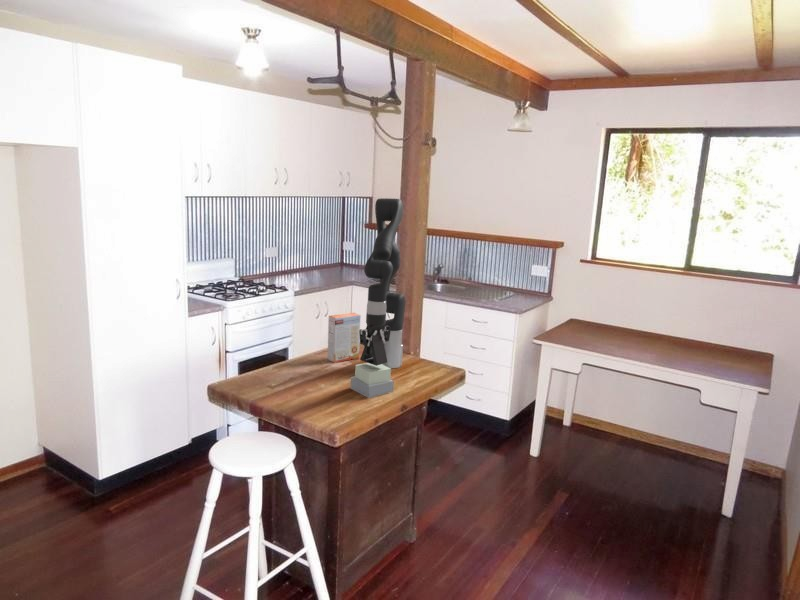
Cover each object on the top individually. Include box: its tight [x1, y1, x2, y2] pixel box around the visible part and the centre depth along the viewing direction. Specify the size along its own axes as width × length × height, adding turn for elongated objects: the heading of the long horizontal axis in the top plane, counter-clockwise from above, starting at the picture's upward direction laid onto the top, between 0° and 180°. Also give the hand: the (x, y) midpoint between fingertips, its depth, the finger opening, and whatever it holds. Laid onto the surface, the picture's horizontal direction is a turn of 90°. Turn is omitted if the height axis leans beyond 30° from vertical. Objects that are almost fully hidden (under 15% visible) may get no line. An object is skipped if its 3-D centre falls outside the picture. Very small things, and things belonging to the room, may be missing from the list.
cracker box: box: [327, 312, 361, 363], centre depth 252 cm, size 14×6×21 cm, turn 130°
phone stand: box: [359, 333, 387, 366], centre depth 215 cm, size 9×6×12 cm, turn 50°
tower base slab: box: [349, 375, 395, 399], centre depth 218 cm, size 12×12×5 cm
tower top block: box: [354, 362, 392, 385], centre depth 217 cm, size 10×10×5 cm
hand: (374, 353), depth 215 cm, fingers closed on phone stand, 6 cm apart
